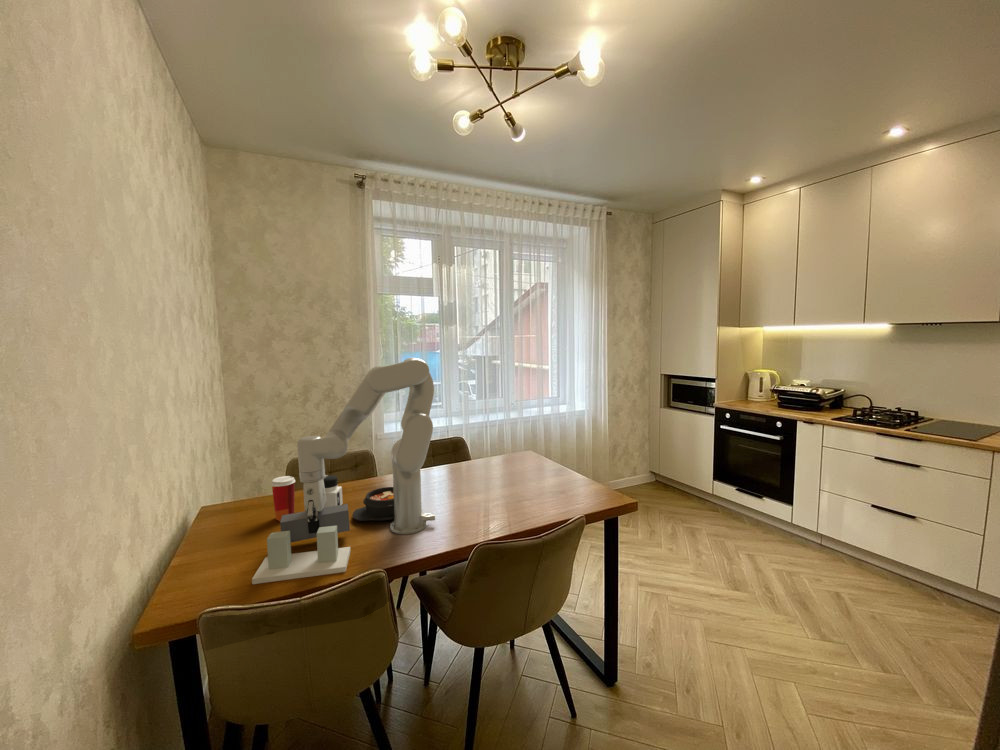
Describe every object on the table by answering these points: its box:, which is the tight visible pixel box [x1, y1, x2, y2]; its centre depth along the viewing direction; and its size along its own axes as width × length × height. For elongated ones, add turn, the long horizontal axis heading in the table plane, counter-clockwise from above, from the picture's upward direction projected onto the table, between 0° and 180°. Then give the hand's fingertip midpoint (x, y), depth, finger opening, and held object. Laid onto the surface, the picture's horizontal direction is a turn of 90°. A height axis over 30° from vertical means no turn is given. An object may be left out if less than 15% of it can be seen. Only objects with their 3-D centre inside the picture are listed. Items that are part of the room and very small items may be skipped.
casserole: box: [352, 486, 394, 522], centre depth 156 cm, size 25×19×8 cm
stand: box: [251, 526, 352, 585], centre depth 120 cm, size 24×12×10 cm, turn 104°
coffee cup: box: [270, 475, 296, 522], centre depth 154 cm, size 8×8×15 cm
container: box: [323, 474, 344, 508], centre depth 163 cm, size 8×8×13 cm
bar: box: [279, 503, 351, 543], centre depth 135 cm, size 20×6×7 cm, turn 113°
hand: (316, 527), depth 135 cm, fingers closed on bar, 6 cm apart
